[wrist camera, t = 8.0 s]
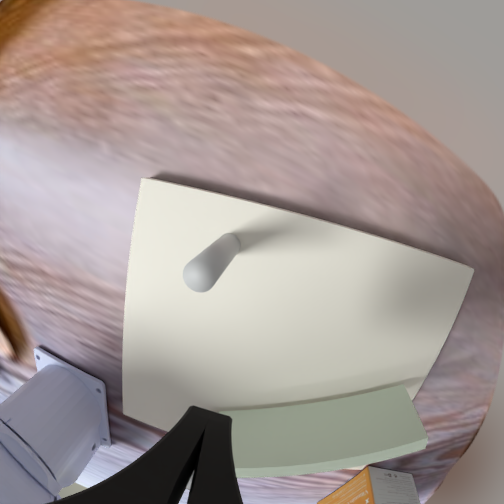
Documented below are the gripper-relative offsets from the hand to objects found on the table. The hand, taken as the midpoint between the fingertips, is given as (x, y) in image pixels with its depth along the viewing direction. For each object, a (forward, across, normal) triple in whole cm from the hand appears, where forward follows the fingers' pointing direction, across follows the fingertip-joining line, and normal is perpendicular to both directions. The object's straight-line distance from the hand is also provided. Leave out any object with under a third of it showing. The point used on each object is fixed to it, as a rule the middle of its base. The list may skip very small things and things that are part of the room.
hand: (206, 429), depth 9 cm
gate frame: (+9, -3, +2) cm, 10 cm away
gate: (+8, -5, +5) cm, 10 cm away
